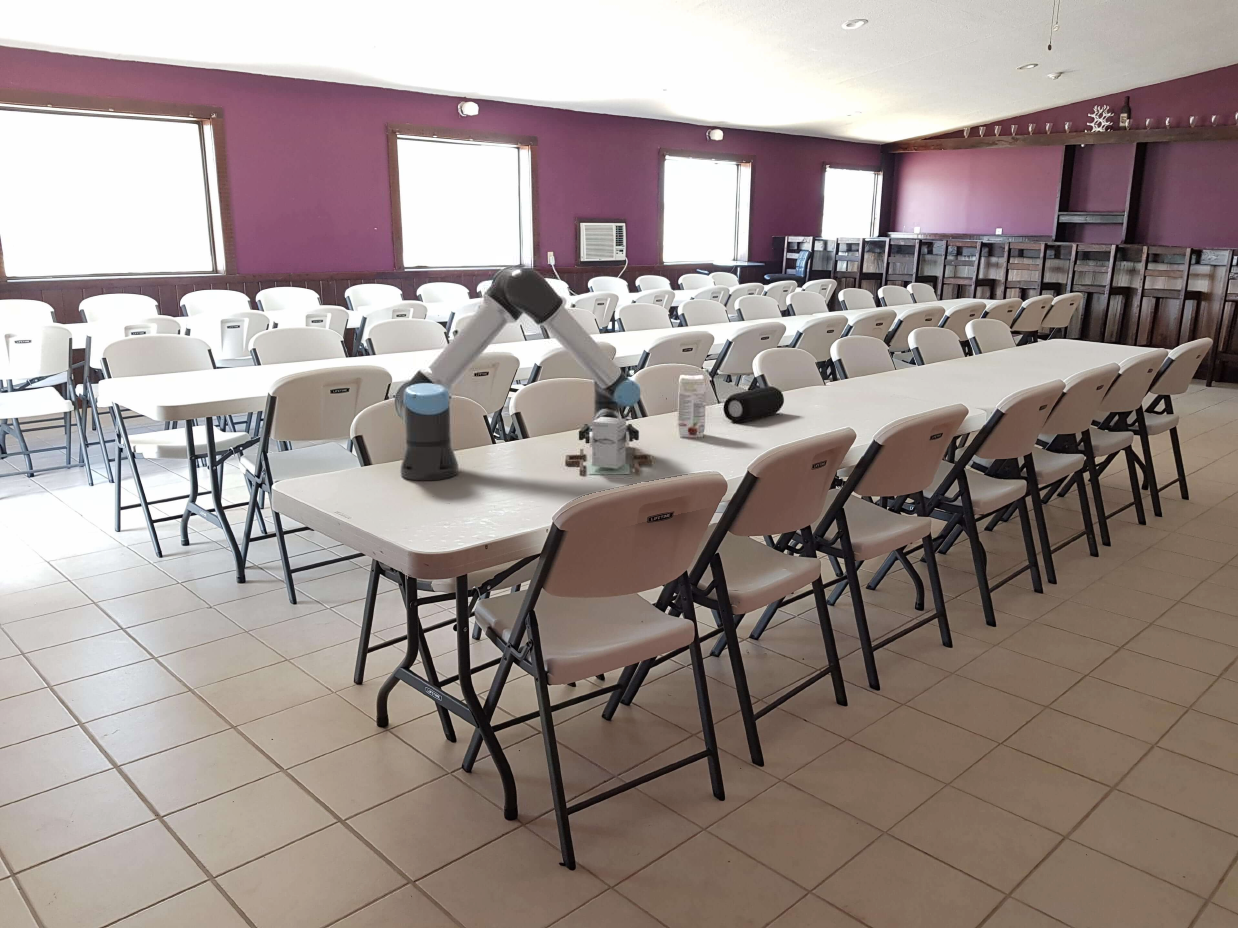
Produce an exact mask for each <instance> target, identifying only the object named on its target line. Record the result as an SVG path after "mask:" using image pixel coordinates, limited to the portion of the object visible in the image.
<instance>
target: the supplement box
mask: <svg viewBox="0 0 1238 928" xmlns="http://www.w3.org/2000/svg"><path fill="white" fill-rule="evenodd" d="M626 425H627V419H626V418H610V417H600V418H598V419H596V420H594V419H593V420H592V427H593V428H592V446H593V447H591V448H592V450H591V451H592V453H591V454H592V455H591V460H592V462H591V464H592V466H593V467H594V466H597V467H606V468H614V469H617V468H619V467H620V466H622V465H623V464H626V448H627V446H626Z"/></svg>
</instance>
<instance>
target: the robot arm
mask: <svg viewBox="0 0 1238 928" xmlns="http://www.w3.org/2000/svg"><path fill="white" fill-rule="evenodd" d="M482 297H483V303H482V304H481V305H480V307H479V308H478V309H477V310H476V311H475V312H474V313H473V315H472V316H471V317H470V318H469V320H468V321H467V322H466V323H465V324H464V325H463V326H462V328H461V329H460V330H459V331H458V332H457V333H456V335H455V336H454V337H453V338H452V340H451V341H450V342H449V343H448V344H447V345H446V346H445V347H444V349H443V350H442V351H441V352H440V353H439V355H438V356H436V358H435V359H434V360H433V362H432V363H431V364H430V365H428V367H427V368H421V369H419V370H417V372H416V373H415V374H414V375H413V376H412V377H411V379H409V380H408V381H406V382H404V383H403V384H401V385H400V386H399V387H398V389H397V391H395V396H394V406H395V410H396V413H397V415H398V416H399V418H401V419H402V421H403V422H404V425H405V428H404V429H405V444H406V445H405V451H404V455H403V457H402V461H401V465H400V475H401V477H402V478H404V479H407V480H412V481H423V482H424V481H426V482H427V481H440V480H445V479H451V478H453V477H455V476H457V475H458V474H459V473H460V471H459V463H458V461H457V457H456V455H455V452H454V449H453V447H452V443H451V442H452V441H451V439H452V437H451V415H450V414H451V413H450V411H451V410H450V409H451V408H450V407H451V406H450V404H451V399H452V398H453V388H454V387H455V385H456V384H458V382H459V381H460V379H462V377H464V375H465V374H466V373H467V371H468V370H469V369H471V367H472V366H473V364H474V363H475V362H476V361H477V360H478V359H479V357H480V356H481V355H482V354H483V353H484V352H485V350H486V349H488V347H489V346H490V345H491V344H492V343H493V341H494V340H495V339H496V337H497V336H498V335H499V334H500V333H501V332H502V330H503V329H504V328H505V327H506V326H507V324H514V323H516V322H517V321H518V320H519V319H520V318H521V317H522V315H523V314H525V316H526V315H527V317H529V318H530V319H531V320H532V321H533V322H535V324H536V325H537V326H543V327H544V329H546V330H547V331H548V333H549V334H550V335H551V336H552V337H554V338H555V340H556V341H557V342H558V343H559V344H560V345H561V346H562V347H563V348H564V350H565V351H567V352H568V354H569V355H570V356H572V358H573V359H574V360H575V361H576V362H577V363H578V364H579V365H580V366H581V367H582V368H583V370H585V372H586V374H588V375H589V376H590V377H591V379H593V382H594V383H593V388H594V390H593V391H594V392H593V393H594V400H593V401H594V403H593V404H594V405H593V408H594V409H593V410H594V411H593V421H594V420H596V419H598V418H600V417H610V418H620V417H621V416H620V406H621V407H626V408H628V407H629V408H630V407H633V406H635V405H636V404H637V402H639V401H640V398H641V395H642V393H641V387H640V385H638V383H637V382H635V381H634V380H632V379H630V377H628V376H627V375H626V374H625V372H624V371H622V370H621V368H620V367H619V366H618V365H617V364H616V363H615V362H614V361H613V360H612V358H611V357H610V356H609V355H608V354H607V353H606V352H605V350H604V349H603V348H602V347H601V346H600V345H599V344H598V343H597V342H596V340H594V338H593V337H592V336H591V335H590V334H589V333H588V332H587V331H586V329H585V328H584V327H583V326H582V325H581V324H580V323H579V322H578V320H576V319H575V318H574V316H573V315H572V314H571V313H570V312H569V311H568V310H567V309H566V307H565V306H564V300H563V298H562V297H561V296H560V295H559V294H558V292H556V290H555V288H553V286H552V285H550V283H549V282H548V281H547V279H546V278H545V277H544V276H543V275H542V274H541V273H539V272H538V271H537V270H535V269H532V268H530V267H529V268H528V267H523V266H519V265H509V266H506V267H503V268H502V269H499V271H498V272H496V273H495V274H494V276H493V278H492V280H491V284H490V286H489V287H488V288H487V290H486V291H485V292H484V294H483V295H482ZM592 428H593V426H591V425H590V424H588V423H585V424H584V423H583V427H581V428H580V429H579V430H578V441H583V440H584V441H585V444H589V447H590V448H592V447H593V446H592ZM639 440H640V432H639V430H638V429H637V428H635V426H633V424H632V423H629V424H626V448H628V447H630V443H631V442H634V441H639Z"/></svg>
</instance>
